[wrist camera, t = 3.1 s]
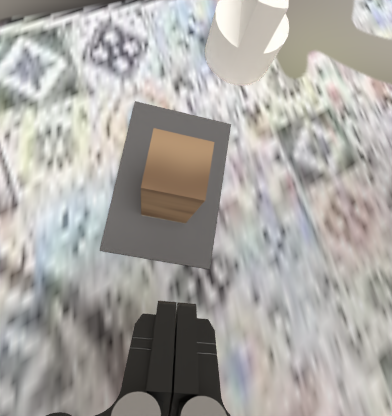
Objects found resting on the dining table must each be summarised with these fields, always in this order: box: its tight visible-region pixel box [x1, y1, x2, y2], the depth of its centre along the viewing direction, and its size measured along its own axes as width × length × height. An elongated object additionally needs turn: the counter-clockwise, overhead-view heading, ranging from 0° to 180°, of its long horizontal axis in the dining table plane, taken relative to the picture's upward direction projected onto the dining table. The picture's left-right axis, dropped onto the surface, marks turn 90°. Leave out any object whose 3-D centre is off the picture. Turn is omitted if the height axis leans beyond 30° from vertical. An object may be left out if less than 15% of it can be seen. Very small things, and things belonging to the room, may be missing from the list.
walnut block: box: [141, 128, 214, 223], centre depth 29 cm, size 5×5×11 cm
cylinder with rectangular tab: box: [205, 0, 289, 86], centre depth 35 cm, size 9×9×12 cm
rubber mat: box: [100, 101, 231, 269], centre depth 35 cm, size 18×12×1 cm, turn 171°
